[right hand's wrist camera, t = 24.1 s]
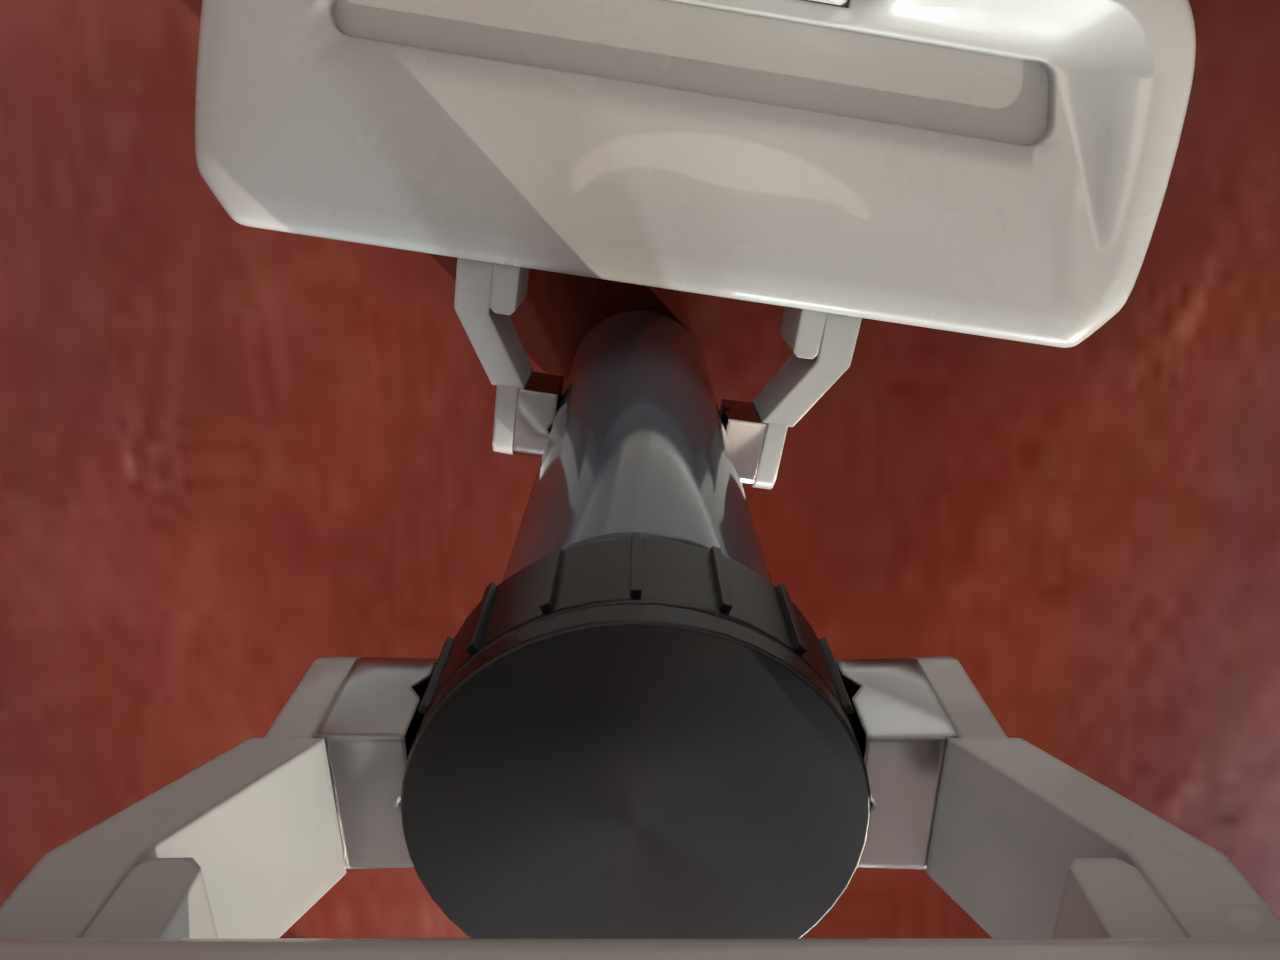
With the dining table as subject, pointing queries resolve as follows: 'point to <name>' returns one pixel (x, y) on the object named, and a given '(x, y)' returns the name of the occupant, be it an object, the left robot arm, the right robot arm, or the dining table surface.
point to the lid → (635, 755)
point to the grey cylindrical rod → (638, 451)
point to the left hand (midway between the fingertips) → (634, 464)
